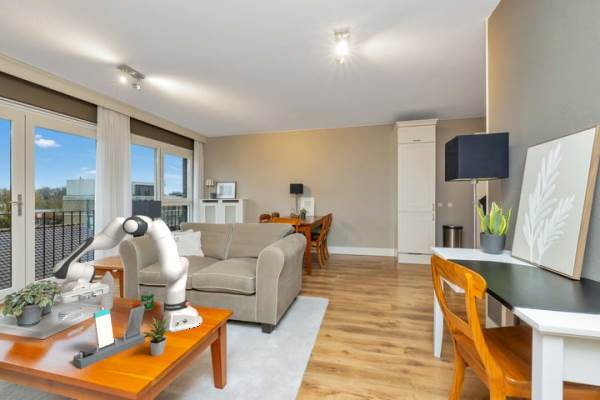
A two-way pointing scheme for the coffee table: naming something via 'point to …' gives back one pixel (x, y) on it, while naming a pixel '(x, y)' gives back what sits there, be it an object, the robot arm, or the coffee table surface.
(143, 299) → the soda can
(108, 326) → the white paddle
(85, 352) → the black rocker
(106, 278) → the water bottle
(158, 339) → the house plant
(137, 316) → the grey upright panel
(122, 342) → the grey holder rack
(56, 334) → the coffee table surface
